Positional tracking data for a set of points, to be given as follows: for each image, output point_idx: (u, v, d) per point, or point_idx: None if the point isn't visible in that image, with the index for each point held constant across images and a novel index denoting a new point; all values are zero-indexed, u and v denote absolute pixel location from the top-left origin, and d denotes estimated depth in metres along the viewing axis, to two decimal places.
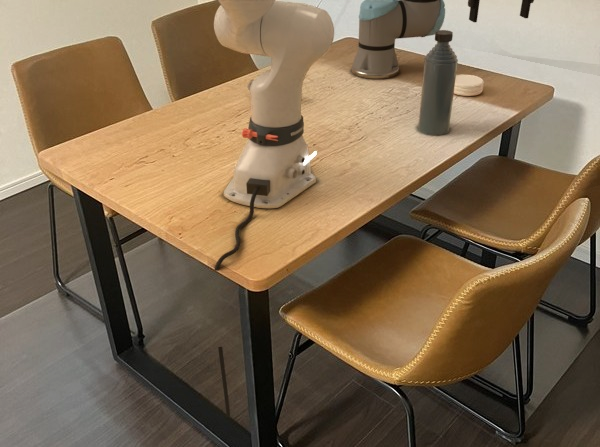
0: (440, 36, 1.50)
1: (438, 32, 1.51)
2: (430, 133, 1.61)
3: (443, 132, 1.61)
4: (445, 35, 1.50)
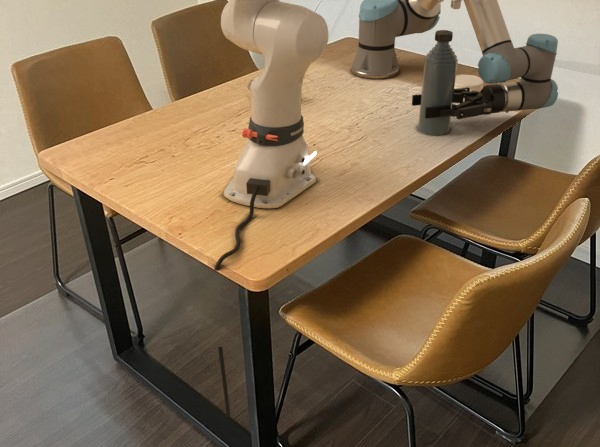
0: (440, 36, 1.50)
1: (438, 32, 1.51)
2: (430, 133, 1.61)
3: (443, 132, 1.61)
4: (445, 35, 1.50)
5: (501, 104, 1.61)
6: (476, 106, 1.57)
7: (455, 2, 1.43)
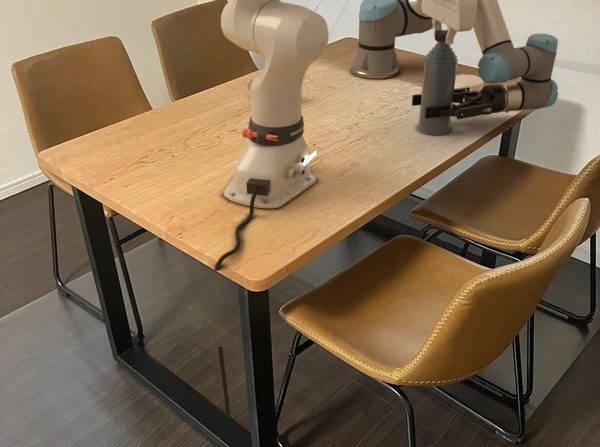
0: (440, 36, 1.50)
1: (438, 32, 1.51)
2: (430, 133, 1.61)
3: (443, 132, 1.61)
4: (445, 35, 1.50)
5: (501, 104, 1.61)
6: (476, 106, 1.57)
7: (448, 38, 1.48)
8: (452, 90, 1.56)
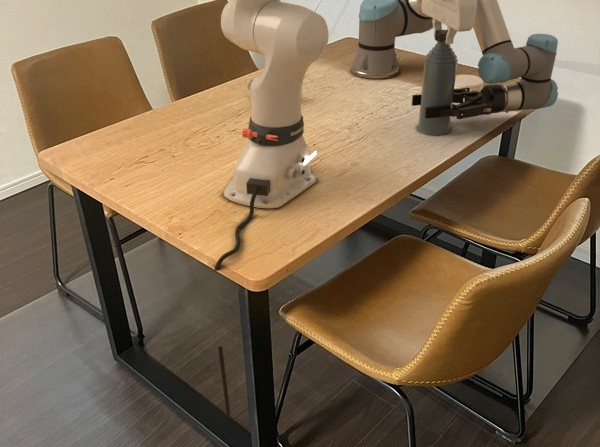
0: None
1: (444, 33, 1.50)
2: (430, 133, 1.61)
3: (443, 132, 1.61)
4: None
5: (501, 104, 1.61)
6: (476, 106, 1.57)
7: (448, 38, 1.49)
8: (452, 90, 1.56)
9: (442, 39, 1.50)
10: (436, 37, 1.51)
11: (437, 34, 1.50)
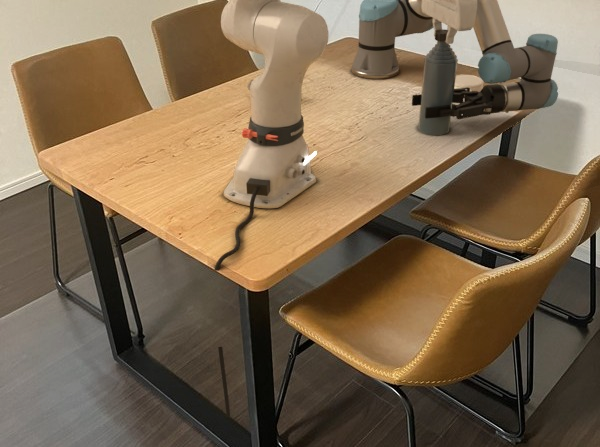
0: None
1: None
2: (430, 133, 1.61)
3: (443, 132, 1.61)
4: None
5: (501, 104, 1.61)
6: (476, 106, 1.57)
7: (448, 37, 1.48)
8: (452, 90, 1.56)
9: None
10: None
11: None
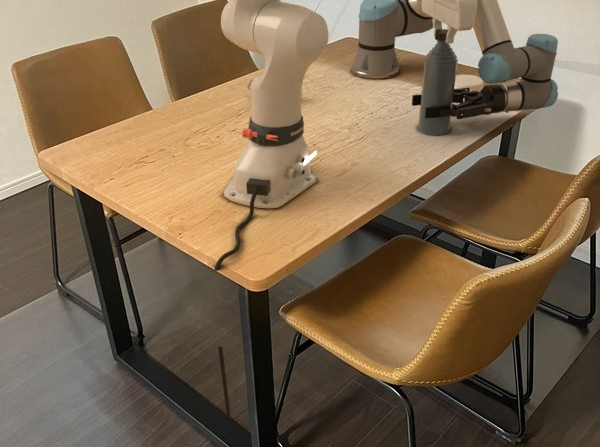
0: None
1: (447, 30, 1.52)
2: (430, 133, 1.61)
3: (443, 132, 1.61)
4: None
5: (501, 104, 1.61)
6: (476, 106, 1.57)
7: (448, 37, 1.48)
8: (452, 90, 1.56)
9: None
10: None
11: None
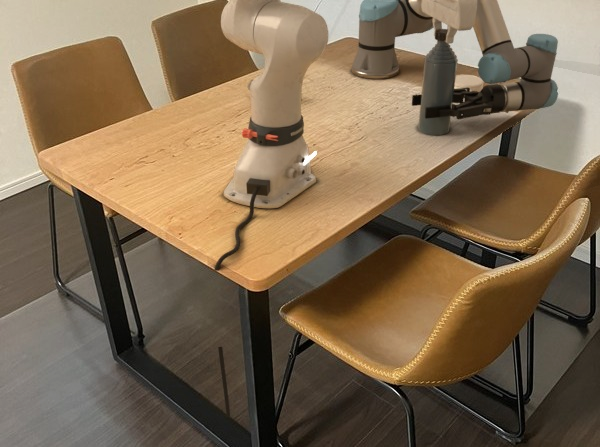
0: (435, 32, 1.52)
1: (440, 29, 1.52)
2: (430, 133, 1.61)
3: (443, 132, 1.61)
4: (436, 32, 1.51)
5: (501, 104, 1.61)
6: (476, 106, 1.57)
7: (448, 37, 1.48)
8: (452, 90, 1.56)
9: None
10: None
11: None
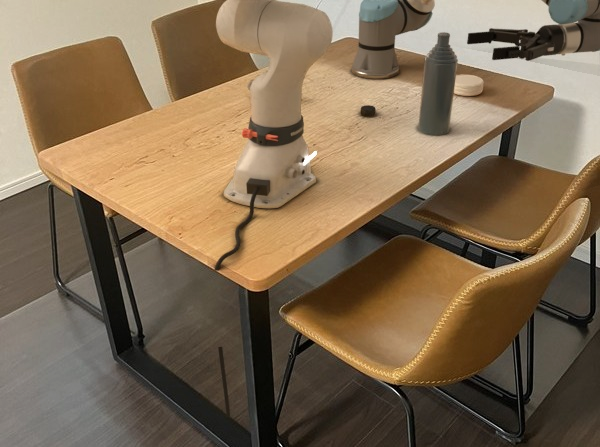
0: (373, 111, 1.72)
1: (367, 109, 1.72)
2: (430, 133, 1.61)
3: (443, 132, 1.61)
4: None
5: (560, 44, 1.56)
6: (542, 46, 1.51)
7: None
8: (452, 90, 1.56)
9: (366, 115, 1.72)
10: (361, 113, 1.73)
11: (362, 110, 1.72)
